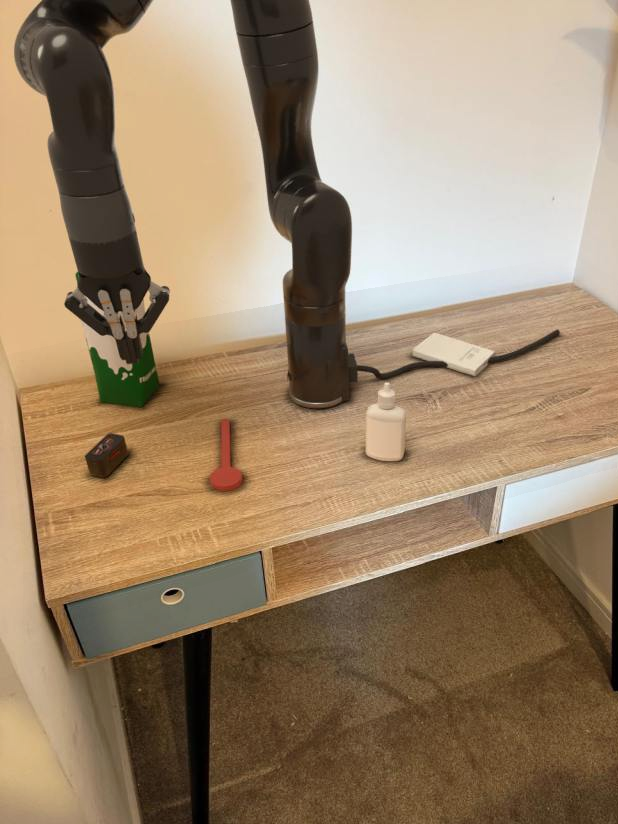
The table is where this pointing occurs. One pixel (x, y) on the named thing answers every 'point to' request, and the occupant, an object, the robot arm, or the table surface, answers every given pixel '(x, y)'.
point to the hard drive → (454, 353)
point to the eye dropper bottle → (385, 427)
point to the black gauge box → (106, 455)
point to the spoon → (225, 464)
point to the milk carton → (121, 366)
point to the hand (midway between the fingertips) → (133, 360)
